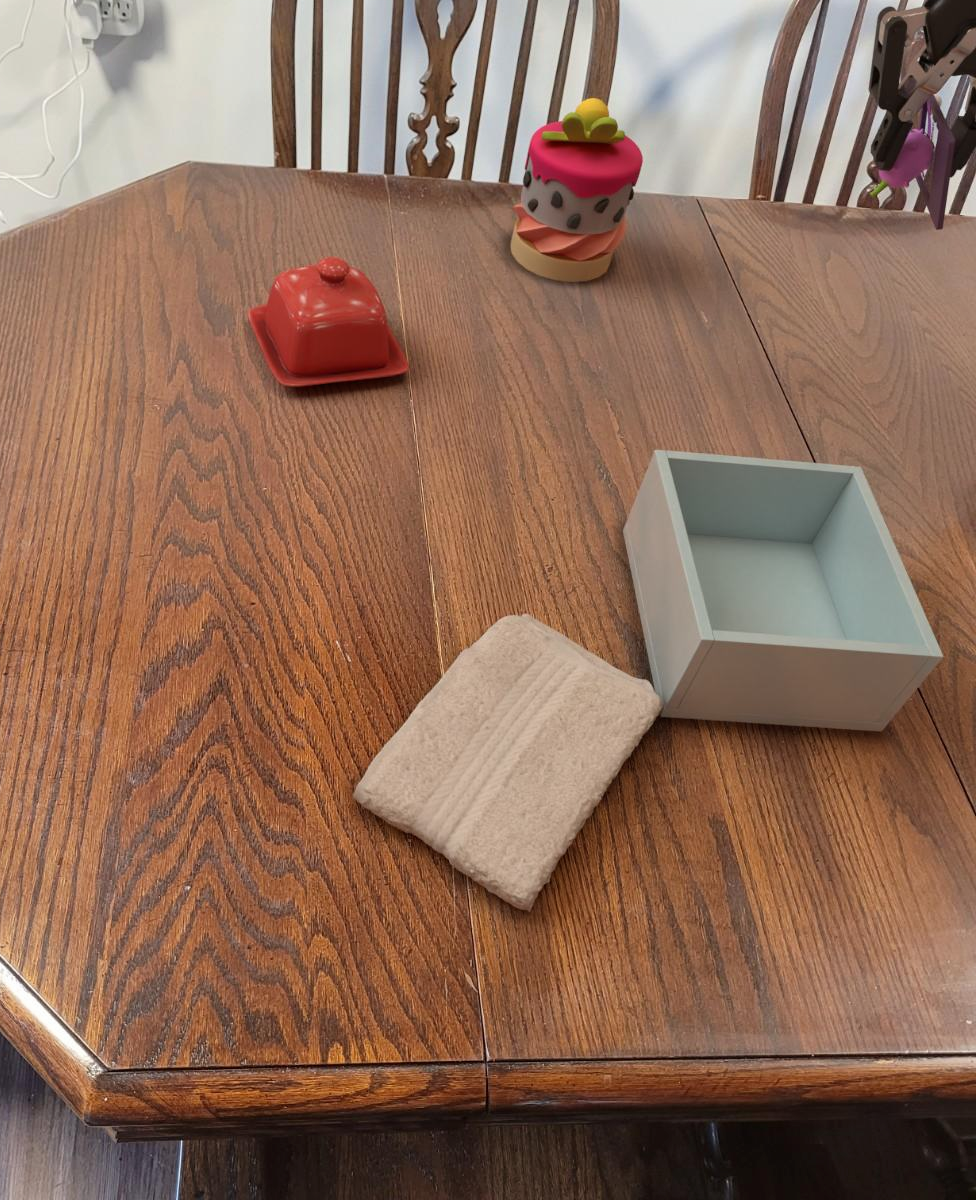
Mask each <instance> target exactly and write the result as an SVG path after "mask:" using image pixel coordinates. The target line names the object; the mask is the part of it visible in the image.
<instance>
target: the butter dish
mask: <svg viewBox="0 0 976 1200" xmlns="http://www.w3.org/2000/svg"><path fill="white" fill-rule="evenodd" d="M270 288H271V289H270V291H269V296H268V298H267V299H268V300H267V303H265V304H261V305H257V306H253V307H252V308H250V309H249V310H248V312H247V317H248V321H249V324H250V326H251V328H252V330H253V332H254V336H255V337H256V340H257V342H258V345H259V347H260V350H261V352H262V354H263V356H264V358H265V361H266V363H267V366H268V368H269V370H270V372H271V374H272V375H273V377H274V379H275V380H276V381H277V383H278V384H280V385H282V386H283V387H289V388H290V387H291V388H293V387H294V388H297V387H298V388H299V387H310V386H315V385H317V386H318V385H323V384H324V385H325V384H332V383H342V382H343V383H344V382H350V381H359V380H360V381H361V380H362V381H363V380H369V379H370V380H371V379H379V378H389V377H395V376H399V375H402V374H405V373H407V372H409V370H410V364H409V361H408V359H407V357H406V355H405V353H404V351H403V349H402V347H401V345H400V344H399V342H398V340H397V338H396V337H395V335H394V333H393V331H392V330H391V328H390V326H389V325H388V321H387V320H388V319H387V313H386V310H385V306H384V304H383V300H382V298H381V296H380V294H379V293H378V291H377V289H376V287H375V285H374V284H373V282H372V281H371V279H369V277H368V276H367V275H366V274H365V273H364V272H363V271H361V270H360V269H359V268H357V267H354V266H349V264H348V262H346V261H345V259H342V258H341V257H337V256H327V257H324V258H322V259H320V260H319V261H318V262H317V264H313V265H312V264H311V265H304V266H299V267H296V268H290V269H288V270H285V271H282V272H281V273H280V274H278V275H277V276H276V277H275V279H274V281H273V283H272V285H271V287H270Z"/></svg>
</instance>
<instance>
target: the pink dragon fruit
mask: <svg viewBox="0 0 976 1200" xmlns="http://www.w3.org/2000/svg"><path fill="white" fill-rule="evenodd" d="M942 105H943V100H942V97H941V96H940V95H939V94H937V93H935V94H932V95H931V96H930V98H929V99H928V100H927V101H926V103H925V104H924V105H923V107H922V108H921V109H920V117H919V126H918V128H913V129H911V130H912V131H911V130H910V132H909V134H908V136H907V138H906V140H905V142H904V145H903V147H902V149H901V151H900V153H899V155H898V157H897V159H896V161H895V163H894V165H893V167H892V169H891V170H890V171H883V170H879V169H878V176H879V179H880V181H881V182H880V183H878V184H877V186H876V187H873V190H872V191H871V192H869V194H870V197H871V198H875V197H876V196H878V195H879V194H880V193H881V192H882V191H883V190H885V189H886V188H891V189H900V188H903V187H904V188H909V187H910V183H911V182H912V181H913V180H916V183H917V185H918V188H919V191H920V193H921V195H922V198H923V201H924V203H925V205H926V208H927V210H928V213H929V215H930V218H931V220H932V223H933V225H934V228H935V230H936V231H940V230H943V228H944V223H945V215H946V208H947V201H948V195H949V187H950V179H951V178H950V174H951V167H952V161H953V154H954V147H955V138H954V136H953V134H952V132H951V128H950V125H949V124H948V123H949V122H948V121H947V119H946V117H945V114H944V113H943V110H942V109H941V107H942ZM931 116H932V117H931ZM935 125H936V127H935ZM926 126H927V132H926ZM935 128H936V129H937V137H936V145H935V144H934V143H935V142H934V141H933V140H934V132H935ZM932 162H933V166H932V167H933V168H932V175H931V182H930V189H929V190H928V187H927V185H926V183H925V182H926V175H925V172H924V171H925V170H926V171H927V170H928V171H929V170H931V167H930V166H931V164H932Z"/></svg>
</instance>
